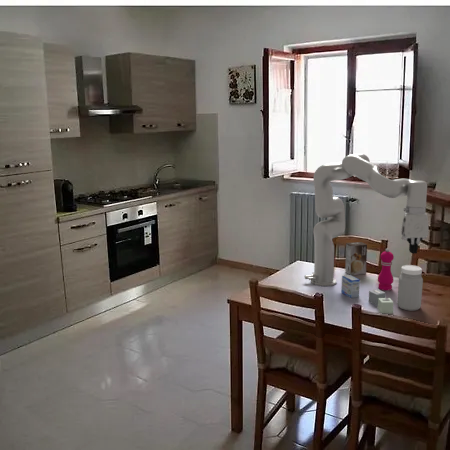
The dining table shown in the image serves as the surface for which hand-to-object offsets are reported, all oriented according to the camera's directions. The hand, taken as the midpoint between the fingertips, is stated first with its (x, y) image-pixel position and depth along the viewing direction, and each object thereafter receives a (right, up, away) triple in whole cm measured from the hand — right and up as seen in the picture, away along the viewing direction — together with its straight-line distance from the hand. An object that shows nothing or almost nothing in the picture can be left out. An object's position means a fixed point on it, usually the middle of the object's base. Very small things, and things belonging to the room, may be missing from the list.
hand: (413, 252), depth 212 cm
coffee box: (-11, -14, +52) cm, 55 cm away
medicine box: (-22, -21, +21) cm, 37 cm away
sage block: (-11, -25, +2) cm, 28 cm away
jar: (0, -24, +6) cm, 25 cm away
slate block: (-12, -23, +12) cm, 28 cm away
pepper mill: (-3, -19, +29) cm, 35 cm away
